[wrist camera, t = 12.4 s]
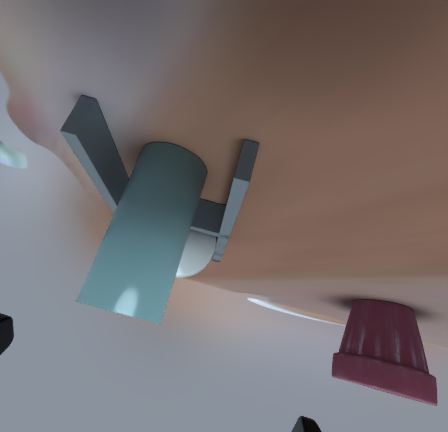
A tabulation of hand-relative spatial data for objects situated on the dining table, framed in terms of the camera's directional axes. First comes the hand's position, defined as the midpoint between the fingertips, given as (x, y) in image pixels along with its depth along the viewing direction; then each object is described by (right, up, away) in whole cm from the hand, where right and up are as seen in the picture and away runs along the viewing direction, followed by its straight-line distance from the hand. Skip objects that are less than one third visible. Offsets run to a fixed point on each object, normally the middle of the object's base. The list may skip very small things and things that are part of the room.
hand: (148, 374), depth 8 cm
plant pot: (+29, -11, +41) cm, 51 cm away
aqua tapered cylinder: (-2, +9, +15) cm, 18 cm away
